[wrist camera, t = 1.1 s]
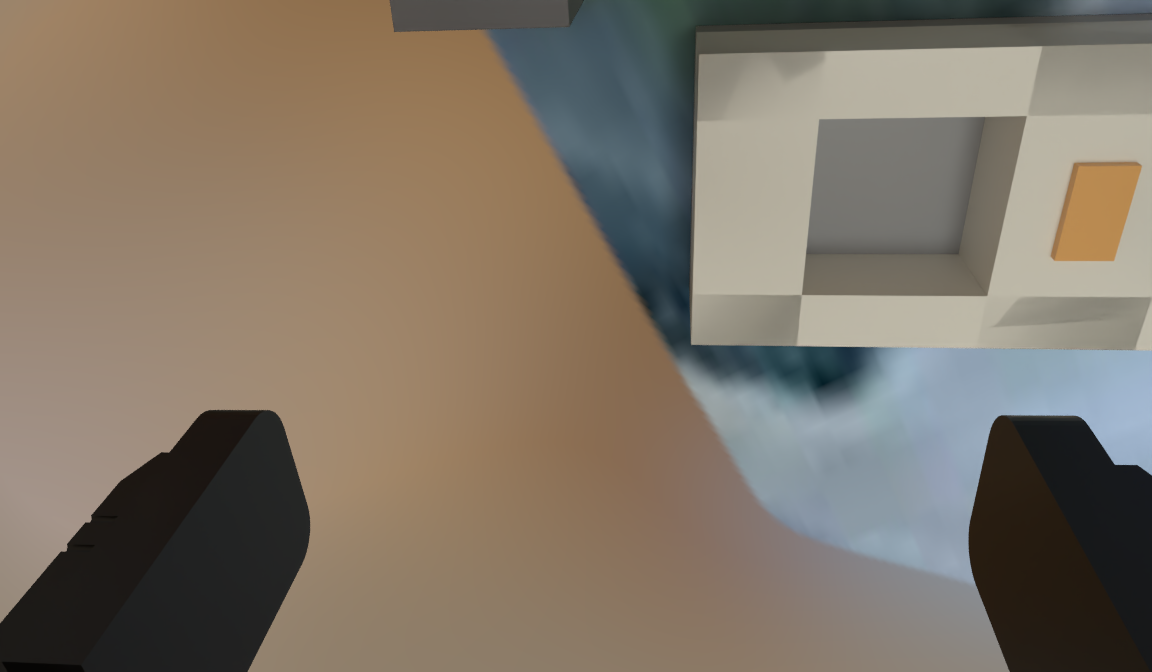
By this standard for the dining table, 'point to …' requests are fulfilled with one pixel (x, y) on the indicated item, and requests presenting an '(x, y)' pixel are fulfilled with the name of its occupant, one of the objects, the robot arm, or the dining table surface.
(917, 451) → the dining table surface
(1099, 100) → the strip
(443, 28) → the plug
